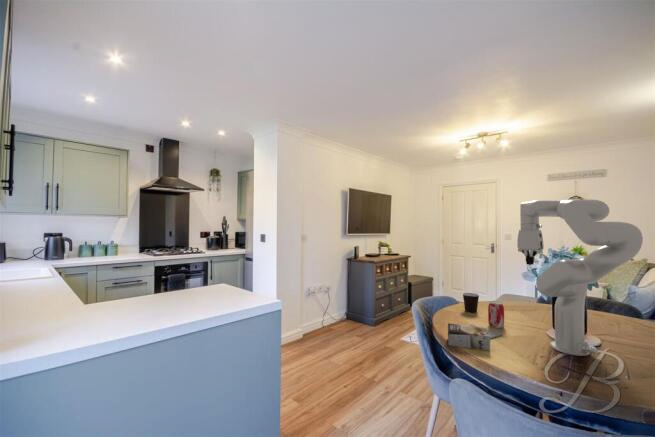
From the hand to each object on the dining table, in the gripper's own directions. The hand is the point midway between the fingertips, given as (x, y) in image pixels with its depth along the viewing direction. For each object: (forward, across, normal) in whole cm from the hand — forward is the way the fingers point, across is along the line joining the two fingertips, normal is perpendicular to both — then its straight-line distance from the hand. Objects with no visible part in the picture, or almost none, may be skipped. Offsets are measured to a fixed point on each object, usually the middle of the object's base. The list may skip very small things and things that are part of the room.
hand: (529, 264), depth 145 cm
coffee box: (+29, -2, +37) cm, 47 cm away
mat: (+32, +10, +28) cm, 44 cm away
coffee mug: (+32, +33, 0) cm, 46 cm away
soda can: (+32, +11, +10) cm, 36 cm away
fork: (+33, -33, +29) cm, 55 cm away
